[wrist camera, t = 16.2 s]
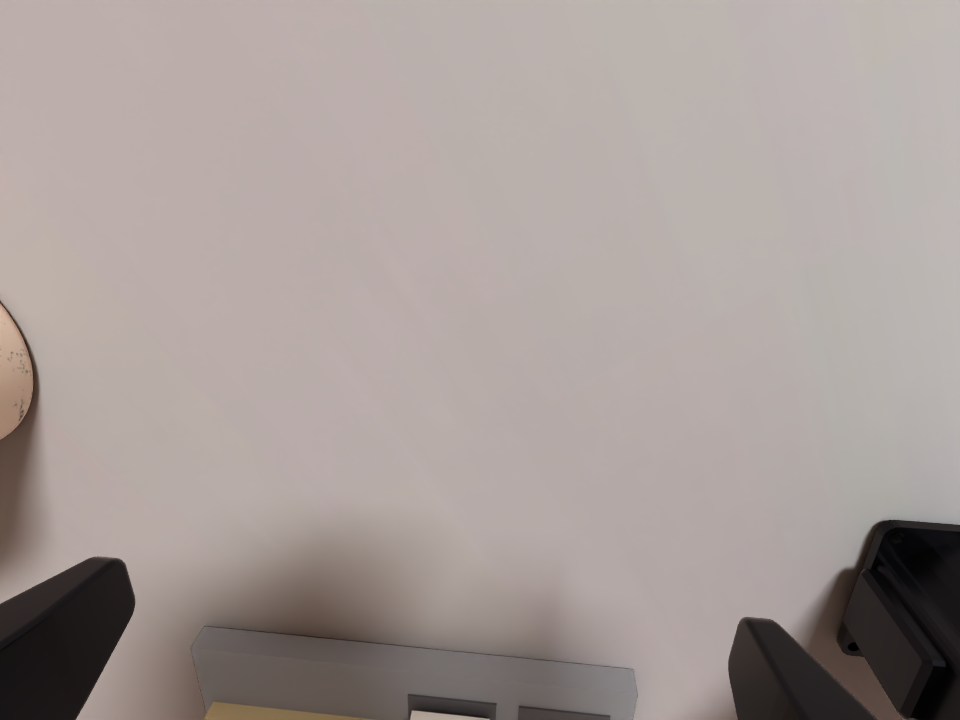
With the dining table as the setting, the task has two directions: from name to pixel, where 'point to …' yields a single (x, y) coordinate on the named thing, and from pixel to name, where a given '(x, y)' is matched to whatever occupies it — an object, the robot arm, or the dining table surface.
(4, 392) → the teacup with lid
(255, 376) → the dining table surface
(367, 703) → the breaker panel
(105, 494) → the dining table surface
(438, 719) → the toggle plain
